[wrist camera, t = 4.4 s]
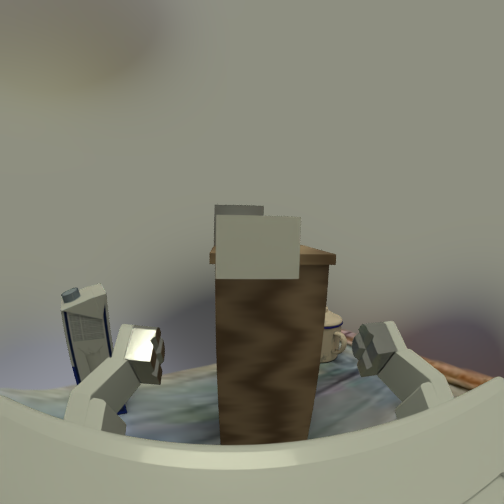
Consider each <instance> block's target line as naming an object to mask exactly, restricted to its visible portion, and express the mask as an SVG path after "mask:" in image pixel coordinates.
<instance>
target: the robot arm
mask: <svg viewBox="0 0 504 504" xmlns="http://www.w3.org/2000/svg"><path fill="white" fill-rule="evenodd" d="M160 336H161V331H160V328H158V327H147V326H138V325H127V324H123V325H122V326H121V327H120V330H119V333H118V337H117V340H116V343H115V347H114V350H113V354H112V357H111V358H110V357H108V358H107V359H106V360H105V361H104V362H102V363H101V364H100V365H99V366H98V367H97V368H96V369H95V370H94V371H93V372H91V373H90V374H89V375H88V376H87V377H86V378H85V379H84V380H83V381H82V382H81V383H80V384H78V385H77V386H76V387H75V388H74V389H73V390H72V391H71V394H70V397H69V401H68V404H67V408H66V412H65V416H64V420H62V419H59V418H56V417H53V416H51V415H48V414H45V413H42V412H40V411H37V410H35V409H32V408H30V407H27V406H25V405H22V404H20V403H18V402H16V401H14V400H11V399H9V398H7V397H5V396H1V395H0V504H504V379H503V378H502V377H495V378H493V379H491V380H490V381H488V382H486V383H484V384H482V385H480V386H478V387H477V388H475V389H473V390H471V391H469V392H467V393H464V394H462V395H460V396H458V397H456V398H454V397H453V394H452V392H451V390H450V387H449V385H448V383H447V380H446V378H445V376H444V375H443V374H442V373H440V372H439V371H438V370H436V369H435V368H434V367H433V366H431V365H430V364H429V363H427V362H426V361H425V360H424V359H422V358H421V357H420V356H418V355H417V354H416V353H415V352H413V351H412V350H411V349H407V347H406V345H405V343H404V341H403V339H402V337H401V335H400V333H399V331H398V329H397V327H396V325H395V323H394V322H393V321H387V322H377V323H368V324H362V325H361V326H360V328H359V334H357V335H356V336H355V337H354V339H353V342H352V351H353V355H354V357H355V358H357V359H358V360H359V361H358V363H357V367H358V370H359V373H360V376H361V377H367V376H373V375H377V376H378V377H379V378H380V379H381V380H382V381H383V382H384V383H385V384H386V385H387V386H388V387H389V388H390V389H391V391H392V392H393V393H394V394H395V395H396V396H397V397H398V398H399V399H400V400H401V401H402V403H401V404H400V405H399V406H398V407H396V409H395V413H396V417H397V420H395V421H392V422H388V423H385V424H381V425H378V426H374V427H370V428H366V429H362V430H358V431H353V432H349V433H344V434H339V435H334V436H328V437H323V438H316V439H310V440H302V441H294V442H284V443H273V444H257V445H201V444H185V443H173V442H164V441H156V440H149V439H142V438H136V437H130V436H125V432H126V424H125V422H124V421H123V420H122V419H121V418H120V417H119V416H118V415H117V413H118V412H119V410H120V409H121V408H122V407H123V405H124V404H125V403H126V402H127V400H128V399H129V398H130V397H131V396H132V394H133V393H134V392H135V391H136V389H137V388H138V387H139V386H140V385H141V384H140V383H144V384H156V385H160V384H161V377H162V369H161V366H160V365H161V364H162V363H163V362H164V356H165V355H164V354H165V348H164V341H163V339H162V338H160Z"/></svg>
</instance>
